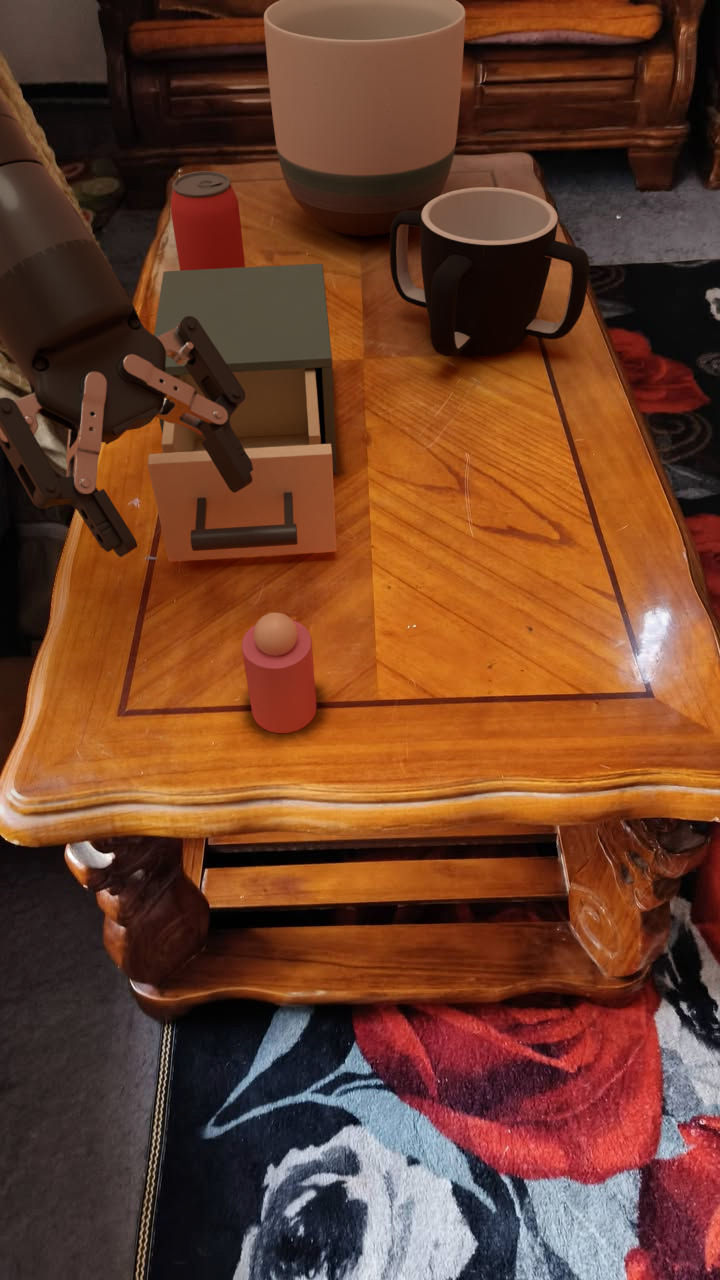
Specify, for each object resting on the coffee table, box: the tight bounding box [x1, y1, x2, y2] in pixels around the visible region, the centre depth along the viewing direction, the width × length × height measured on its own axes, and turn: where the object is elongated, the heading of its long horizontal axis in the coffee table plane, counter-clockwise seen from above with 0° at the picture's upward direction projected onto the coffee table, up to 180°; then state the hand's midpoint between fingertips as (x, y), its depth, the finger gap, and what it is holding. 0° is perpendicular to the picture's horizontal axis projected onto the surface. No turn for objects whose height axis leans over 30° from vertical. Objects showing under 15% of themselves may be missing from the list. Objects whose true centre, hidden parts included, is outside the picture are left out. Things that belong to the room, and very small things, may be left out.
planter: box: [263, 0, 466, 237], centre depth 104 cm, size 20×20×21 cm
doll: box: [241, 611, 318, 734], centre depth 59 cm, size 4×4×8 cm
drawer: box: [147, 368, 337, 563], centre depth 71 cm, size 19×12×9 cm, turn 4°
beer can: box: [170, 170, 246, 271], centre depth 95 cm, size 7×7×12 cm
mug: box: [389, 186, 591, 358], centre depth 89 cm, size 16×16×12 cm
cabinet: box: [153, 263, 338, 474], centre depth 80 cm, size 16×14×11 cm
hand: (188, 518), depth 57 cm, fingers open, 8 cm apart
